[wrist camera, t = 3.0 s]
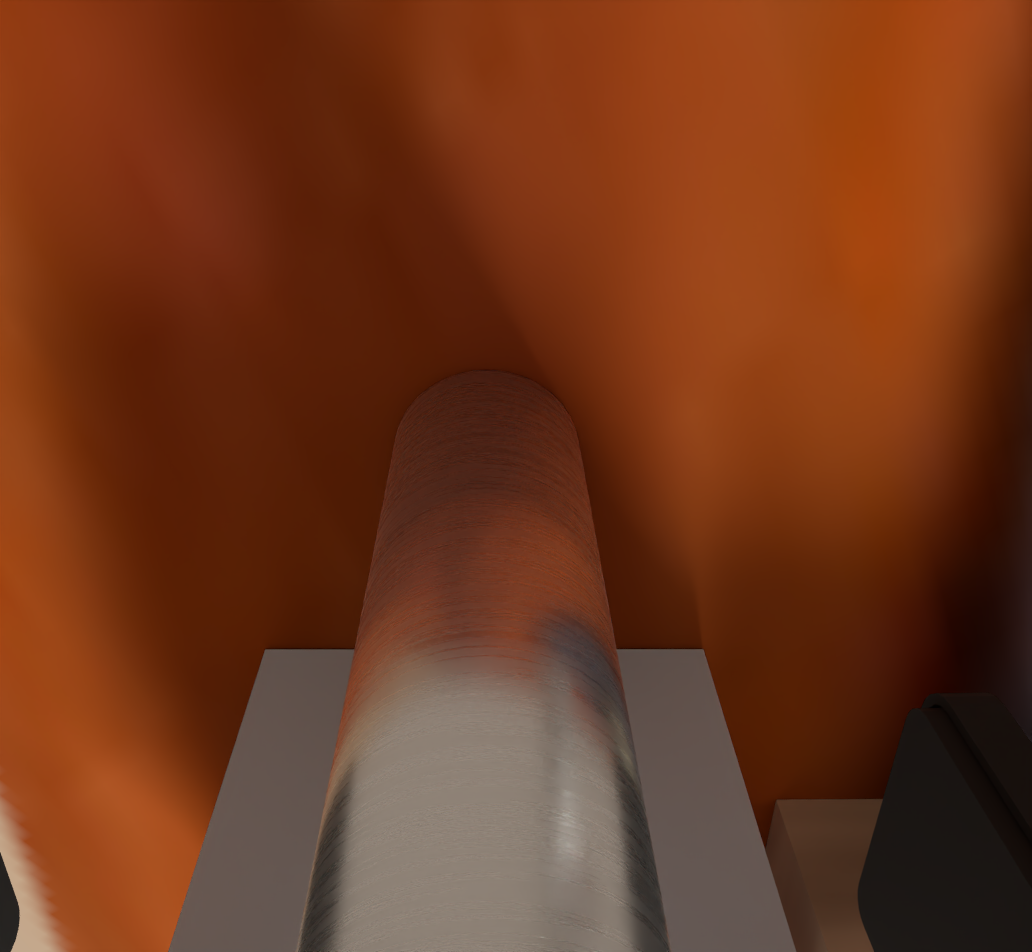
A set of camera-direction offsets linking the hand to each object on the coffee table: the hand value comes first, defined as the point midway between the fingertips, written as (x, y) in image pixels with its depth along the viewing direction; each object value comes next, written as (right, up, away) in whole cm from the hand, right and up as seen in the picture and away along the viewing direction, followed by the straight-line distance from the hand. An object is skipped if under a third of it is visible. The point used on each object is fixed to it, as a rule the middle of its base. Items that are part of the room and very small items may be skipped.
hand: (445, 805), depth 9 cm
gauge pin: (0, +4, +6) cm, 7 cm away
